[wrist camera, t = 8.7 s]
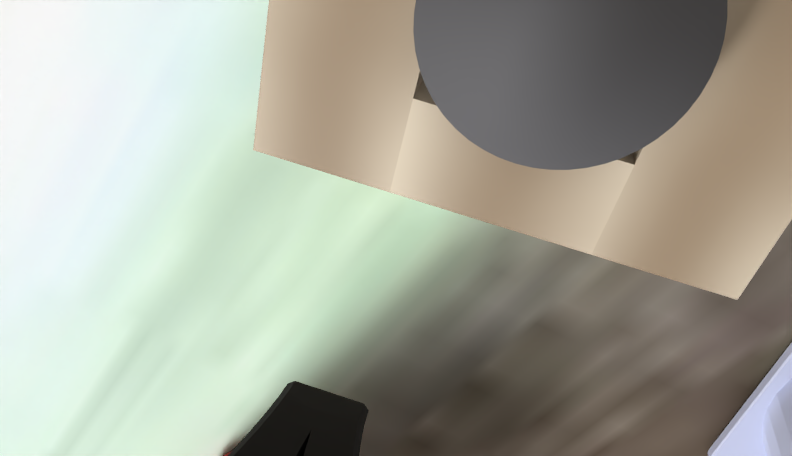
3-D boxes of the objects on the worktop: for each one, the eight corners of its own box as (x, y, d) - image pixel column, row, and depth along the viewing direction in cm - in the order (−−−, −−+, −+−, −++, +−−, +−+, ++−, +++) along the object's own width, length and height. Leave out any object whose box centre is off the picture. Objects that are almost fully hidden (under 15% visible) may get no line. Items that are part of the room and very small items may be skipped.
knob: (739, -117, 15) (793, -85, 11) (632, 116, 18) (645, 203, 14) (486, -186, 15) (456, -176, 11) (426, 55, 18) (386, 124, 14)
